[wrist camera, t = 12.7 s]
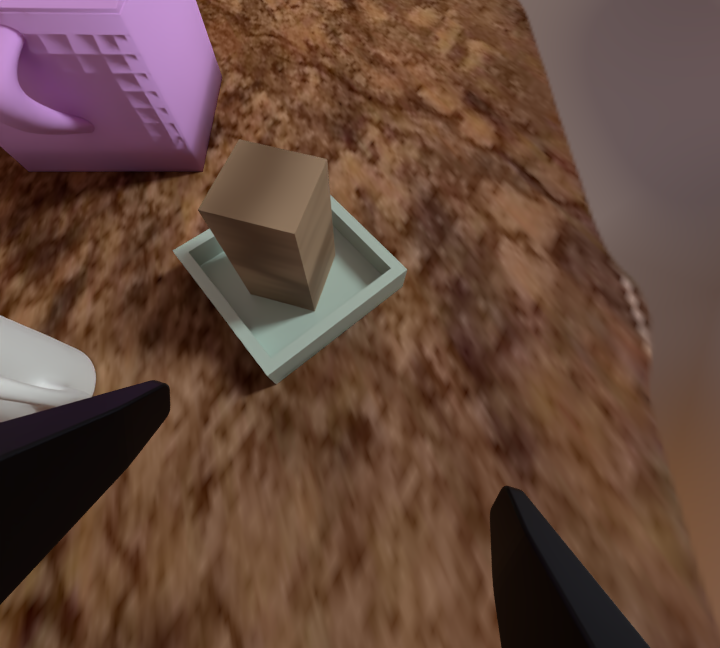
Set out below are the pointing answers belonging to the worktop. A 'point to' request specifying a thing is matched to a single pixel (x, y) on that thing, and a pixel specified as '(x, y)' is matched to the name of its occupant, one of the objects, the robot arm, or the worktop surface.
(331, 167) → the worktop surface
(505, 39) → the worktop surface
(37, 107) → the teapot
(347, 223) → the tray
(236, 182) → the walnut block
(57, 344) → the mug
